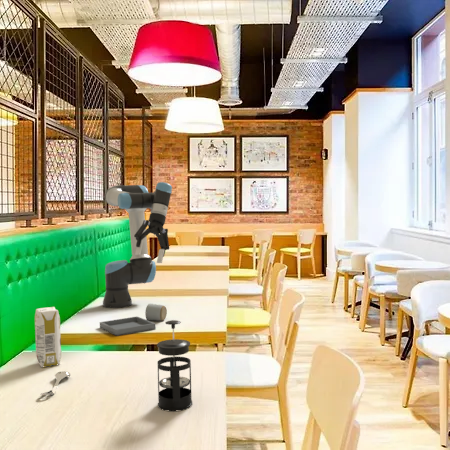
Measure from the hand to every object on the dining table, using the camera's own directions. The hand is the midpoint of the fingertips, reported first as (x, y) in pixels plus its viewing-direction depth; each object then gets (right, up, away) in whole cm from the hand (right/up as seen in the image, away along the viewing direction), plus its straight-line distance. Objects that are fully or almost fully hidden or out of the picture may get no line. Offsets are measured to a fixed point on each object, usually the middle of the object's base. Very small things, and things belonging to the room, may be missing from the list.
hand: (148, 258), depth 249 cm
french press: (+21, -34, -100) cm, 108 cm away
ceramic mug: (+3, -29, +5) cm, 29 cm away
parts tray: (-8, -30, -11) cm, 32 cm away
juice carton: (-26, -33, -60) cm, 73 cm away
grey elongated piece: (-16, -34, -84) cm, 92 cm away
